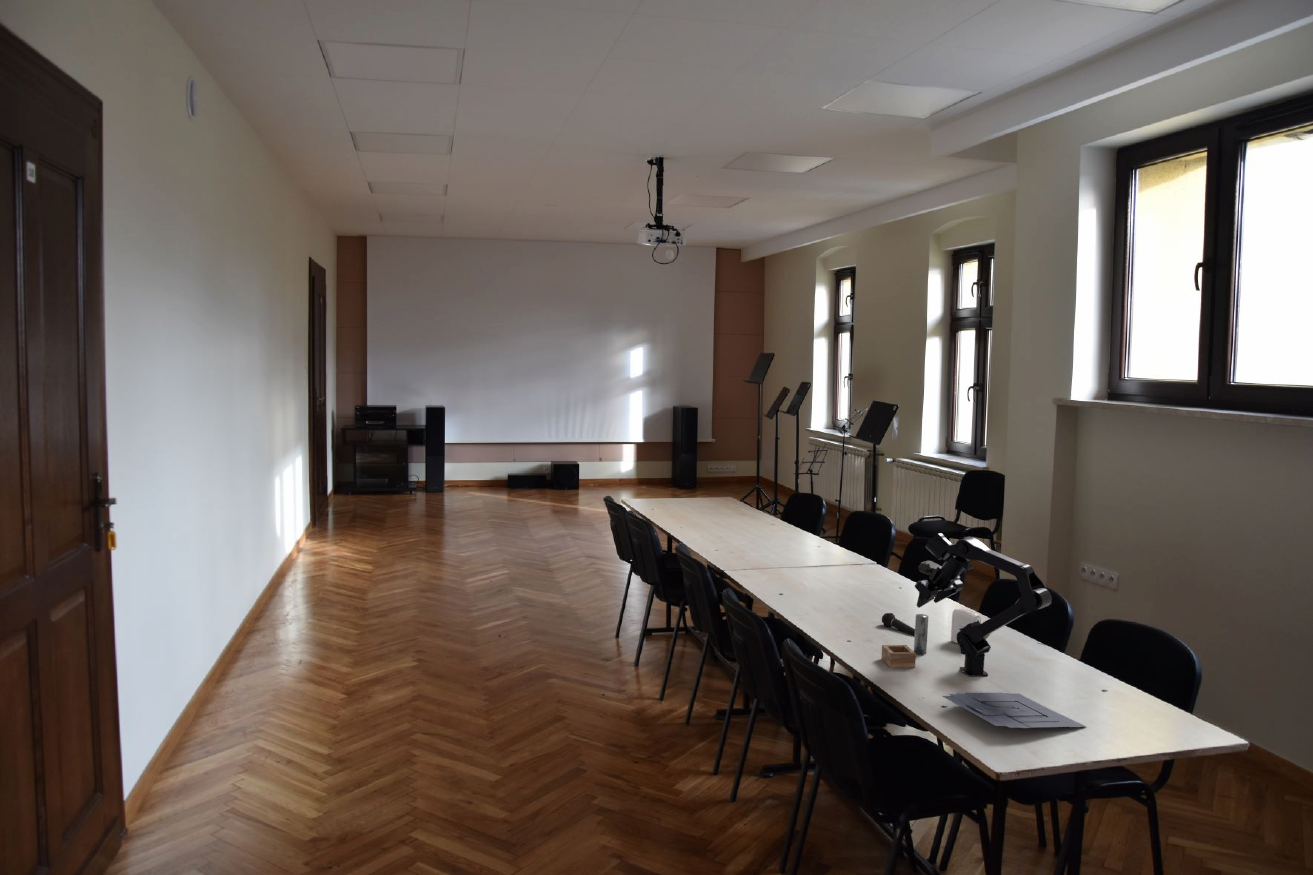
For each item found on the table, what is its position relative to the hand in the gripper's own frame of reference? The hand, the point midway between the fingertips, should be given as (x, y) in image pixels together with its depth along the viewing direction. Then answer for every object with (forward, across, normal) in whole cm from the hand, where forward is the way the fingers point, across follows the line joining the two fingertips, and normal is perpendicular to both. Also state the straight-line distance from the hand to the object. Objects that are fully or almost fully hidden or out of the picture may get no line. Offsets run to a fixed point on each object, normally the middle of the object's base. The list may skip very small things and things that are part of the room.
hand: (926, 604), depth 282 cm
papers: (-8, +22, +46) cm, 51 cm away
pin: (+16, -2, +7) cm, 17 cm away
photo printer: (+14, -22, +10) cm, 28 cm away
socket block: (+15, +13, +9) cm, 21 cm away
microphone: (+26, -15, -7) cm, 31 cm away
